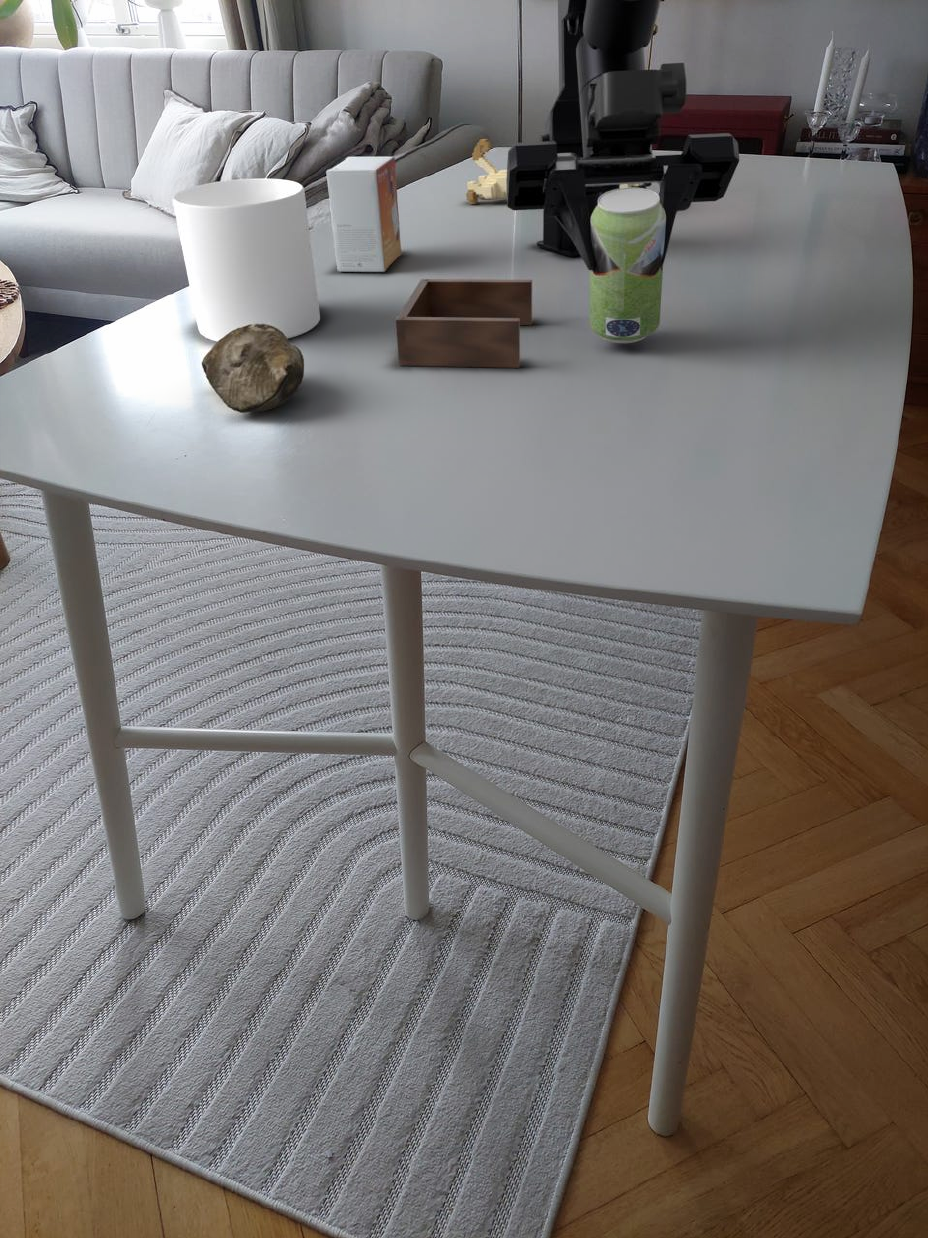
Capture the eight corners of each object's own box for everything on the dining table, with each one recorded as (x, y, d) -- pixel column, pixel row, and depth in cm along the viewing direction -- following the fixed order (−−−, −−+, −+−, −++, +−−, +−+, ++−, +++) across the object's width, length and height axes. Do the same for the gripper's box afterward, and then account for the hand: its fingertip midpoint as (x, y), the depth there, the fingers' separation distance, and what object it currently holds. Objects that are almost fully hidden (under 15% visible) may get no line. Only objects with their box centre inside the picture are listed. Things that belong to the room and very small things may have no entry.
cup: (217, 353, 87) (190, 213, 80) (185, 318, 96) (158, 189, 89) (338, 329, 91) (322, 194, 84) (297, 297, 100) (280, 172, 93)
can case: (532, 322, 91) (532, 279, 88) (519, 367, 81) (518, 320, 79) (423, 321, 92) (421, 278, 90) (399, 365, 83) (395, 319, 81)
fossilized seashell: (314, 387, 73) (319, 362, 82) (256, 313, 70) (269, 296, 79) (237, 445, 74) (250, 414, 83) (178, 374, 72) (198, 350, 81)
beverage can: (663, 327, 86) (681, 184, 79) (646, 356, 81) (663, 205, 74) (595, 319, 88) (606, 178, 81) (574, 347, 83) (583, 198, 75)
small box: (384, 273, 106) (376, 169, 100) (336, 272, 107) (324, 169, 101) (403, 253, 112) (396, 155, 106) (357, 252, 113) (347, 155, 107)
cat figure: (461, 217, 130) (640, 214, 120) (453, 146, 125) (639, 136, 115) (492, 201, 137) (663, 196, 127) (485, 133, 132) (663, 122, 122)
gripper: (506, 28, 74) (517, 215, 71) (749, 16, 74) (768, 204, 71) (502, 124, 85) (511, 289, 82) (713, 114, 85) (729, 279, 82)
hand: (626, 265), depth 79 cm, fingers closed on beverage can, 5 cm apart
